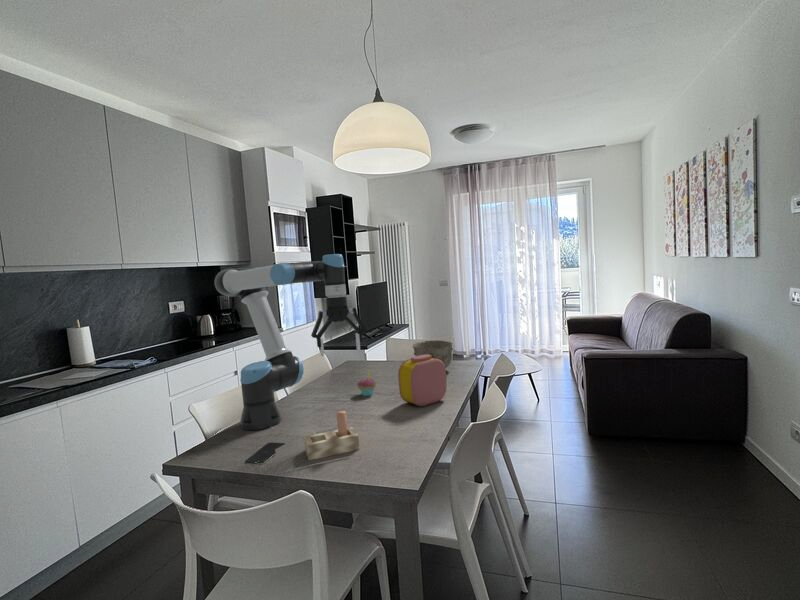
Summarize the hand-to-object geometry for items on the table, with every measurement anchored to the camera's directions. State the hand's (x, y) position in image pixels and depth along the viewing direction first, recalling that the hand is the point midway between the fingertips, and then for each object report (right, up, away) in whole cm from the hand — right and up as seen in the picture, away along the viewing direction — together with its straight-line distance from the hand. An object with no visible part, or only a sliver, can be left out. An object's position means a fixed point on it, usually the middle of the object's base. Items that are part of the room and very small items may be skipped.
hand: (340, 353), depth 161 cm
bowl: (+40, -19, +70) cm, 83 cm away
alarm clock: (+32, -23, +21) cm, 45 cm away
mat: (-2, -28, -9) cm, 29 cm away
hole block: (0, -29, -22) cm, 36 cm away
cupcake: (+7, -24, +37) cm, 44 cm away
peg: (+4, -28, -20) cm, 35 cm away
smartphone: (-22, -31, -20) cm, 42 cm away
